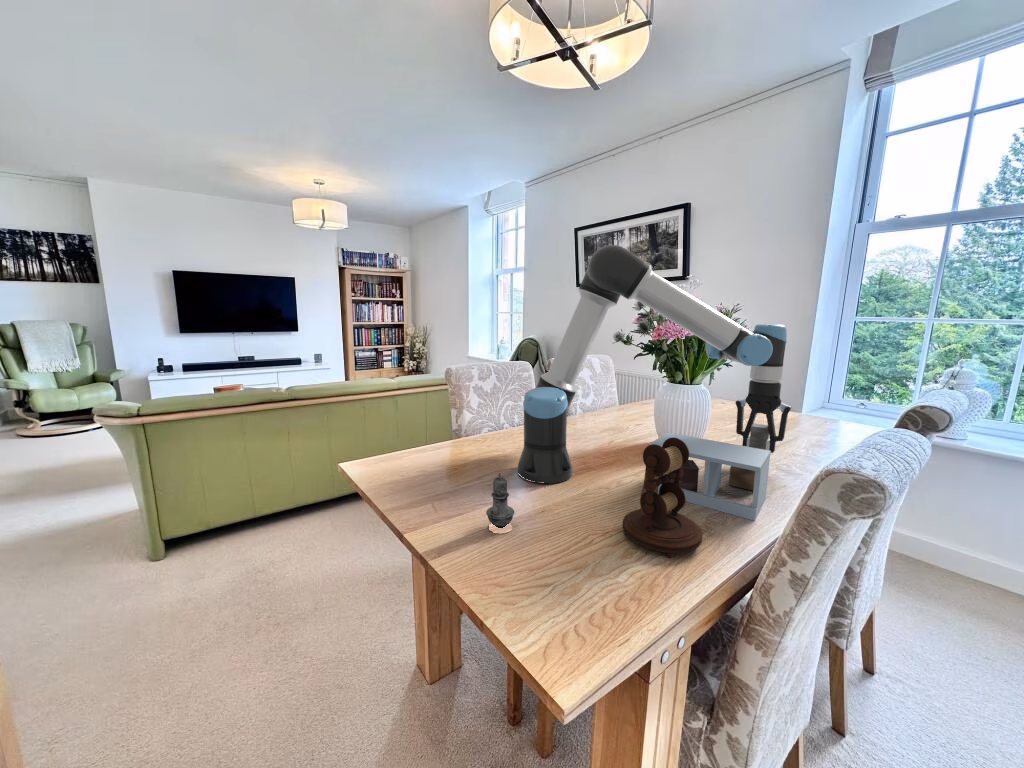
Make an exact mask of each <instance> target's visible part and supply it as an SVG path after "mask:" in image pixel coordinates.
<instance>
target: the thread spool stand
mask: <svg viewBox="0 0 1024 768" xmlns="http://www.w3.org/2000/svg"><path fill="white" fill-rule="evenodd" d="M642 452H643V453H642V460H643V464H644V466H645V471H644V478H643V484H642V487H641V493H640V499H639V505H640V508H639V509H635V510H633V511H630V512H628V513H627V514H626V515H625V516H624V517H623V519H622V530H623V534H624V537H627V538H629V540H631V541H633V542H634V543H635V544H638V545H640V546H642V547H644V548H646V549H650V550H653V551H656V552H662V553H666V556H667V558H668V559H671V558H672V557H673V556H674V554H680V553H688V552H692V551H694V550H696V549H697V548H699V547H700V546H701V545H702V542H703V530H702V529H701V527H700V526H699V525H698V524H697V523H696V522H695V521H693V519H690V518H689V517H687V516H686V515H684V514H681V513H679V512H680V510H682V509H683V508H684V507H685V505H686V498H685V494H684V492H683V490H682V489H681V486H680V482H679V480H681V478H682V476H683V473H684V472H683V470H682V469H681V467H682V465H684V464H685V463H686V462H687V461H688V460H690V457H689V450H688V447H687V445H686V444H685V443H684V442H683V441H682V440H680V439H678V438H674V437H673V438H668V439H667V440H665V442H664V443H663V446H662V447H661V446H659V445H656V444H652V445H649V446H648V445H647V446H646V447H645V448H644V450H643V451H642ZM671 479H674V483H672V482H668V481H670V480H671ZM660 484H662V485H661V487H660V489H659V494H658V486H659V485H660Z"/></svg>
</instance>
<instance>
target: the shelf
mask: <svg viewBox="0 0 1024 768" xmlns="http://www.w3.org/2000/svg"><path fill="white" fill-rule="evenodd" d="M673 437H674V438H678V439H680V440H682V441H683V442H684V443H685V444H686V445H687V447H688V450H689V458H692V459H695V460H702V461H704V471H703V484H702V486H703V487H702V493H700V492H698V491H697V492H693V491H689V490H685V489H682V488H681V489H682V490H683V492H684V494H685V498H686V501H685V503H686V502H687V503H690V504H694V505H697V506H700V507H704V508H707V509H708V508H709V509H712V510H715V511H719V512H723V513H726V514H730V515H733V516H737V517H740V518H744V519H747V520H751V521H755V522H756V520H757V518H758V516H759V513H760V512H761V509H762V507H763V505H764V504H765V502H766V499H767V497H766V496H767V488H768V479H769V472H770V471H769V470H770V462H771V454H772V453H771V451H769V450H763V449H757V448H752V447H746V446H742V445H741V444H735V443H734V444H733V443H730V442H723V441H718V440H713V439H707V438H701V437H694V436H691V435H684V434H680V433H679V434H678V433H672V432H666V433H664V434H663V435H661V436H660V437H658V438H657V439H655V440H653V441H651V442H650V443H648V445H647V446H649V445H652V444H656V445H659V446H661V447H662V446H663V443H664V442H665V440H667V439H668V438H673ZM723 465H724V466H730V467H731V466H734V467H738V468H743V469H748V470H753V471H755V479H754V489H753V490H752V491H753V492H752V500H751V506H750V505H745V504H743V503H738V502H734V501H732V500H731V501H730V500H727V499H725V498H724V499H723V498H719V497H716V496H715V495H716V494H717V493H718V492H719V490H720V487H721V478H722V466H723ZM661 485H662V484H660V485H659V486H658V494H659V489H660V487H661Z"/></svg>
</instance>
